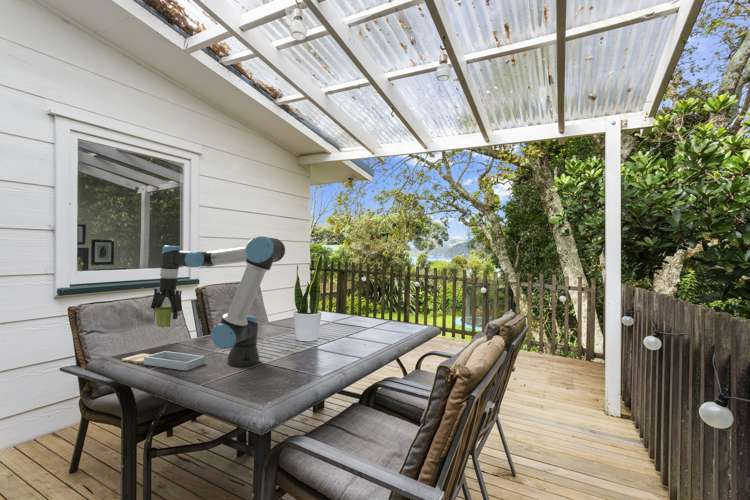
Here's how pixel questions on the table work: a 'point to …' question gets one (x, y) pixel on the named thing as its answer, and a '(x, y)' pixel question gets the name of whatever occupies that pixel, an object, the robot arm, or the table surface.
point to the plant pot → (163, 316)
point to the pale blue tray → (163, 361)
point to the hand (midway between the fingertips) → (165, 324)
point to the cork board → (136, 358)
